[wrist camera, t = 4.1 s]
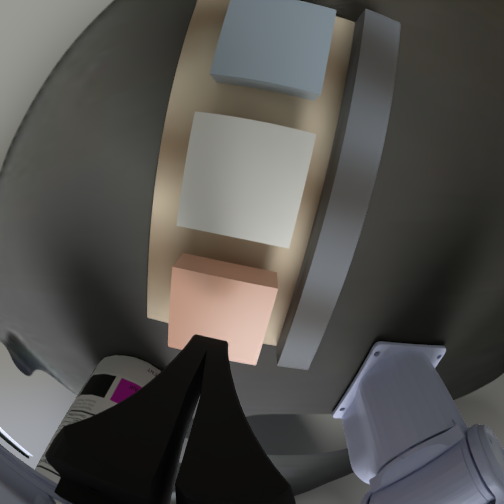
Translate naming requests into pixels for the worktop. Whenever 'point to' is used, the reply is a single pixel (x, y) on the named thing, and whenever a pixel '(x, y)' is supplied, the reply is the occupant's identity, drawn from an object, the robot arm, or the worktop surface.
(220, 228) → the key middle
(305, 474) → the worktop surface
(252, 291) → the key terracotta
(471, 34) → the worktop surface
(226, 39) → the key slate
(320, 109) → the keypad base
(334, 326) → the worktop surface
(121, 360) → the supplement can
